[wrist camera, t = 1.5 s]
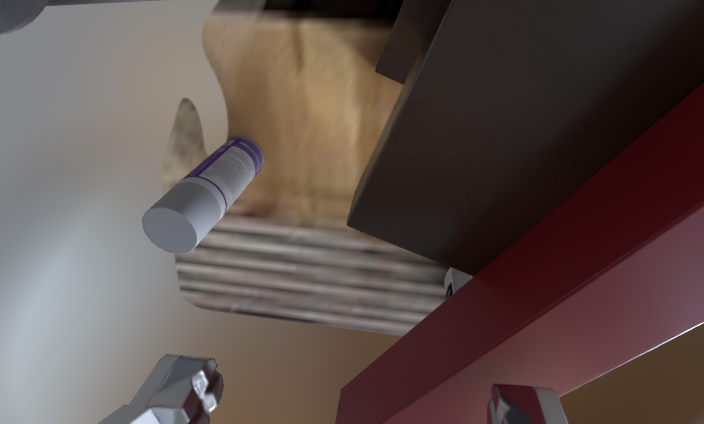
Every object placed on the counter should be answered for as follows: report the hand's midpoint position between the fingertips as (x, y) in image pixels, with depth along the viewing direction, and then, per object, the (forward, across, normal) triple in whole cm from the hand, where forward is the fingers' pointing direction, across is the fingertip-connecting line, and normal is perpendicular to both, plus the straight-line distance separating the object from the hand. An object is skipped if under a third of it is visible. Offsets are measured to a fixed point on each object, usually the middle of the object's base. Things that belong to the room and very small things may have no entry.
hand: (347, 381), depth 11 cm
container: (+30, +16, +5) cm, 34 cm away
